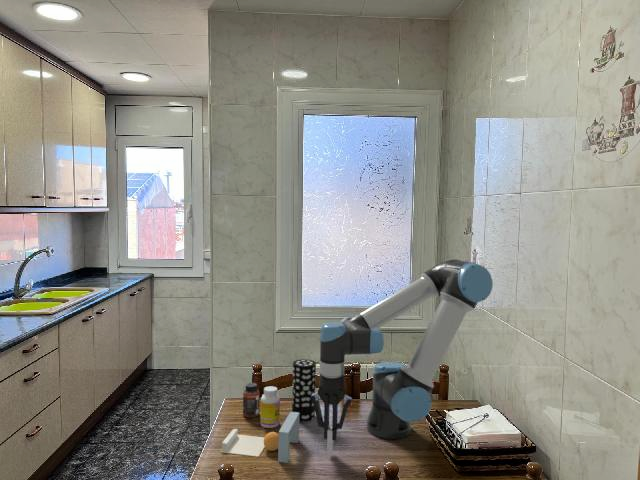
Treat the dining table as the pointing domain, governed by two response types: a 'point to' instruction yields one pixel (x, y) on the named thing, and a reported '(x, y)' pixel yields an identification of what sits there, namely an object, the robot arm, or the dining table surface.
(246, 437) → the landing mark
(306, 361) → the spotted tube
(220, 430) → the dining table surface
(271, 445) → the ball
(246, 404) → the supplement bottle
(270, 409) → the supplement bottle
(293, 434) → the bridge
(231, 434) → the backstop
